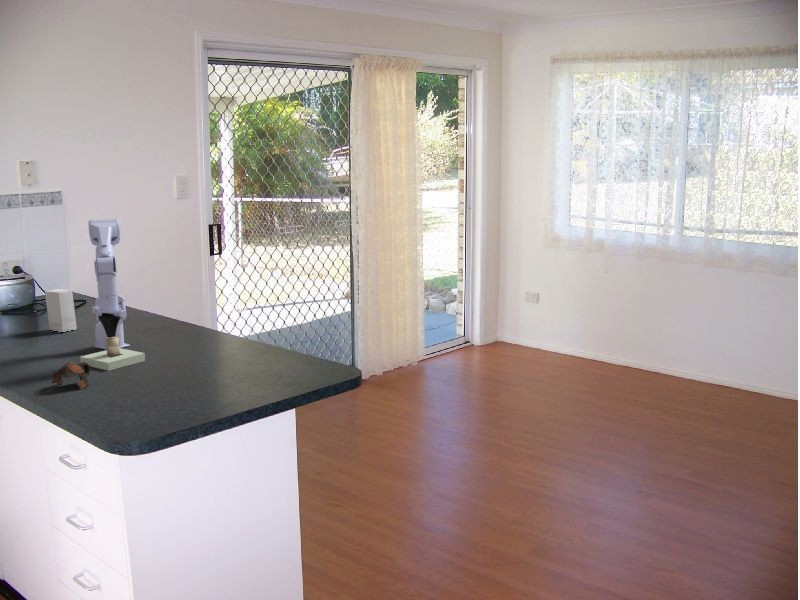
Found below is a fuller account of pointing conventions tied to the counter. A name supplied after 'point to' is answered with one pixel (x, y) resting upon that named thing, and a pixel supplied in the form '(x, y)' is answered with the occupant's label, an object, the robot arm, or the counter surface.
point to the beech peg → (112, 347)
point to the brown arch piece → (75, 369)
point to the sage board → (113, 359)
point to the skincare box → (60, 310)
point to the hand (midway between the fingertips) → (111, 336)
